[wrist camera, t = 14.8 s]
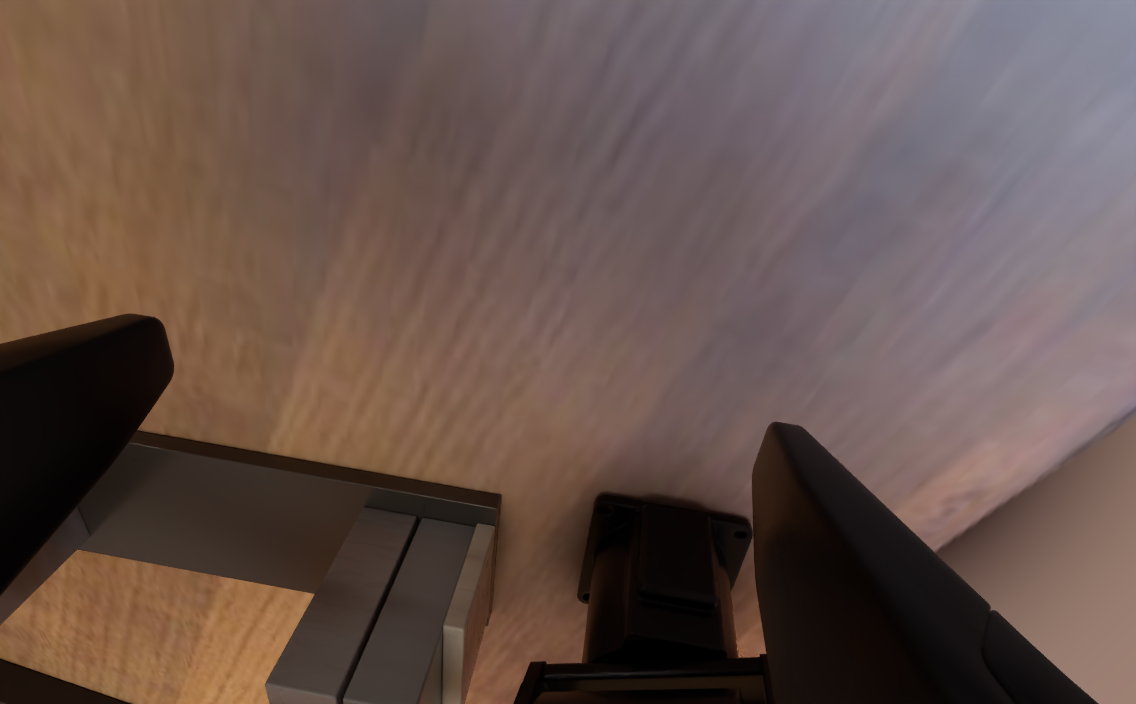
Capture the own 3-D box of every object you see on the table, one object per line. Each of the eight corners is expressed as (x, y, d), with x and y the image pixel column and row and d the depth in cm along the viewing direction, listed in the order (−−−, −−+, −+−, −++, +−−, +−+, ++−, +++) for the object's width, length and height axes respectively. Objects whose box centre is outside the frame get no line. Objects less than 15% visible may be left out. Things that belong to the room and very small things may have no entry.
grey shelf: (491, 612, 31) (437, 815, 24) (2, 521, 32) (-197, 687, 25) (501, 495, 27) (439, 696, 19) (-62, 395, 28) (-326, 549, 21)
